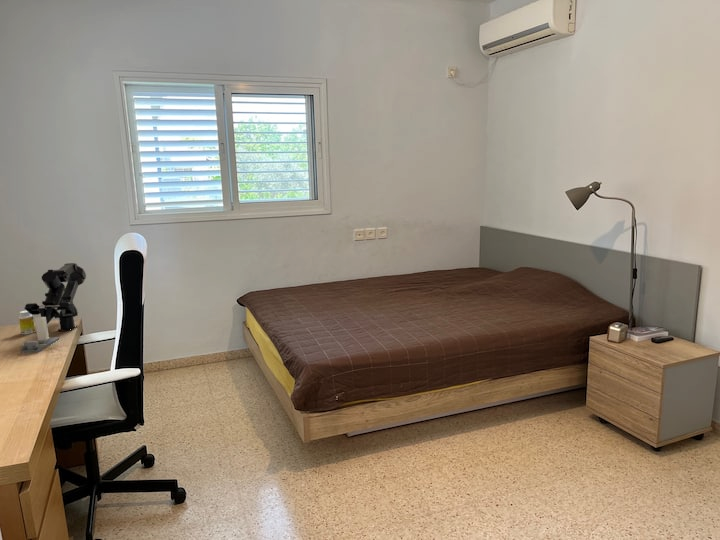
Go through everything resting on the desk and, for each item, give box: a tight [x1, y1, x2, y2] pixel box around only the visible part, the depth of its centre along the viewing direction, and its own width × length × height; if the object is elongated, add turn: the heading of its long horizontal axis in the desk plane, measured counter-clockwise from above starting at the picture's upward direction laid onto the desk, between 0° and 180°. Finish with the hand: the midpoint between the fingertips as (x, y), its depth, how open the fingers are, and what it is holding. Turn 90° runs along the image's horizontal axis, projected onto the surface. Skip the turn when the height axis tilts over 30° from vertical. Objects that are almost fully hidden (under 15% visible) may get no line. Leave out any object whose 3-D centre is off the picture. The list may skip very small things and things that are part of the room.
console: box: [19, 336, 60, 354], centre depth 212 cm, size 16×7×4 cm, turn 2°
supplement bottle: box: [17, 310, 36, 335], centre depth 231 cm, size 6×6×10 cm
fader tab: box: [34, 316, 52, 343], centre depth 214 cm, size 4×4×10 cm
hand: (44, 325), depth 215 cm, fingers closed, pressing on fader tab
